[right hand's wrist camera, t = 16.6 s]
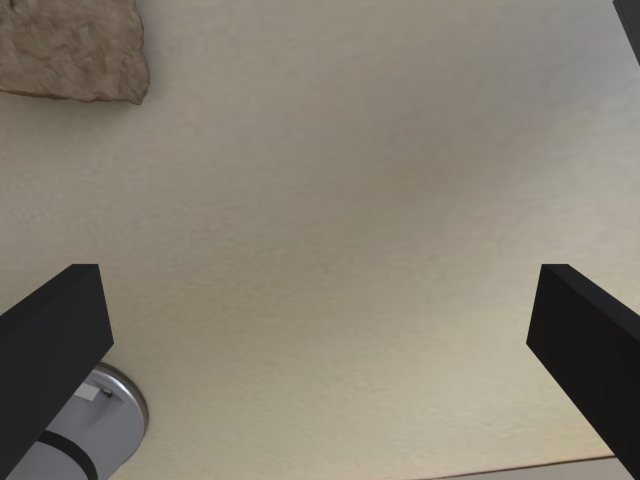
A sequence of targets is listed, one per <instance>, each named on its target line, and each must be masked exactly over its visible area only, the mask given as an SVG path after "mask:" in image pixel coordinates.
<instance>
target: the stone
mask: <svg viewBox="0 0 640 480" xmlns="http://www.w3.org/2000/svg"><path fill="white" fill-rule="evenodd" d="M143 33H144V28H143V24H142V21H141V18H140V16H139V14H138V12H137V9H136V5H135V0H0V92H8V93H11V94H17V95H24V96H31V97H41V98H50V99H54V100H59V99H73V100H78V101H82V102H86V103H91V102H94V101H113V100H116V101H130V102H131V103H133V104H136V105H141V103H142V101H143V98H144V96H145V95H146V93H147V91H148V89H147V88H148V87H149V79H150V73H149V69H148V65H147V61H146V59H145V57H144V55H143V53H142V51H141V48H142V46H143Z"/></svg>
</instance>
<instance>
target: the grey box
mask: <svg viewBox="0 0 640 480" xmlns="http://www.w3.org/2000/svg"><path fill="white" fill-rule="evenodd" d="M613 4H614V6H615V9H616V11H617V13H618V16H619V18H620V21H621V23H622V25H623V28H624V30H625V32H626V35H627V37H628V39H629V42H630V44H631V47H632V49H633V51H634V54H635V56H636V58H637V61H638V63H639V65H640V0H614V1H613Z"/></svg>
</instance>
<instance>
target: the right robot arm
mask: <svg viewBox="0 0 640 480" xmlns="http://www.w3.org/2000/svg"><path fill="white" fill-rule="evenodd" d="M113 344H114V341H113V336H112V331H111V326H110V321H109V316H108V311H107V306H106V301H105V296H104V291H103V286H102V281H101V276H100V271H99V266H98V264H72V265H70V266H69V267H67V268H66V269H65V270H63V271H62V272H60V273H59V274H58V275H56V276H55V277H54V278H52V279H51V280H49V281H48V282H47V283H45V284H44V285H42V286H41V287H40V288H38V289H37V290H35V291H34V292H33V293H31V294H30V295H29V296H27V297H26V298H24V299H23V300H22V301H20V302H19V303H17V304H16V305H15V306H13V307H12V308H11V309H9V310H8V311H6V312H5V313H4V314H2V315H1V316H0V480H107V479H108V478H109V477H110V476H111V475H112V474H113V473H114V472H115V471H116V470H117V469H118V468H119V467H120V466H121V465H122V464H123V463H125V462H126V461H127V460H128V459H129V458H130V457H131V456H132V455H133V454H134V453H135V452H136V451H137V449H138V447H139V445H140V443H141V441H142V439H143V437H144V435H145V433H146V431H147V427H148V422H149V415H148V409H147V405H146V402H145V400H144V398H143V396H142V394H141V393H140V391H139V390H138V388H137V387H136V386H135V385H134V384H133V383H132V381H130V380H129V379H128V378H127V377H126V376H125V375H123V374H122V373H121V372H119V371H117V370H116V369H114V368H112V367H110V366H108V365H106V364H104V363H101V362H100V360H101V359H102V358H103V357H104V355H105V354H106V353H107V352H108V350H109V349H110V348H111V347H112V345H113ZM526 344H527V345H528V347H529V348H530V349H531V350H532V352H533V353H534V354H535V355H536V357H537V358H538V359H539V360H540V362H541V363H542V364H543V365H544V367H545V368H546V369H547V370H548V372H549V373H550V374H551V375H552V377H553V378H554V379H555V380H556V382H557V383H558V384H559V385H560V387H561V388H562V389H563V390H564V392H565V393H566V394H567V395H568V397H569V398H570V399H571V400H572V402H573V403H574V404H575V405H576V407H577V408H578V409H579V410H580V412H581V413H582V414H583V415H584V417H585V418H586V419H587V420H588V422H589V423H590V424H591V425H592V427H593V428H594V429H595V431H596V432H597V433H598V434H599V436H600V437H601V438H602V439H603V441H604V442H605V443H606V444H607V446H608V447H609V448H610V449H611V451H612V452H613V453H614V454H615V456H616V457H617V458H618V459H619V461H620V462H621V463H622V464H623V465H624V467H625V468H626V469H627V471H628V472H629V473H630V474H631V475H632V477H633V478H634V479H635V480H640V316H639V315H638V314H636V313H635V312H634V311H632V310H631V309H629V308H628V307H627V306H625V305H624V304H623V303H621V302H620V301H618V300H617V299H616V298H614V297H613V296H611V295H610V294H609V293H607V292H606V291H604V290H603V289H602V288H600V287H599V286H598V285H596V284H595V283H593V282H592V281H591V280H589V279H588V278H586V277H585V276H584V275H582V274H581V273H580V272H578V271H577V270H575V269H574V268H573V267H571V266H570V265H568V264H542V266H541V271H540V276H539V281H538V286H537V291H536V296H535V301H534V306H533V311H532V316H531V321H530V326H529V331H528V336H527V341H526Z"/></svg>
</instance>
